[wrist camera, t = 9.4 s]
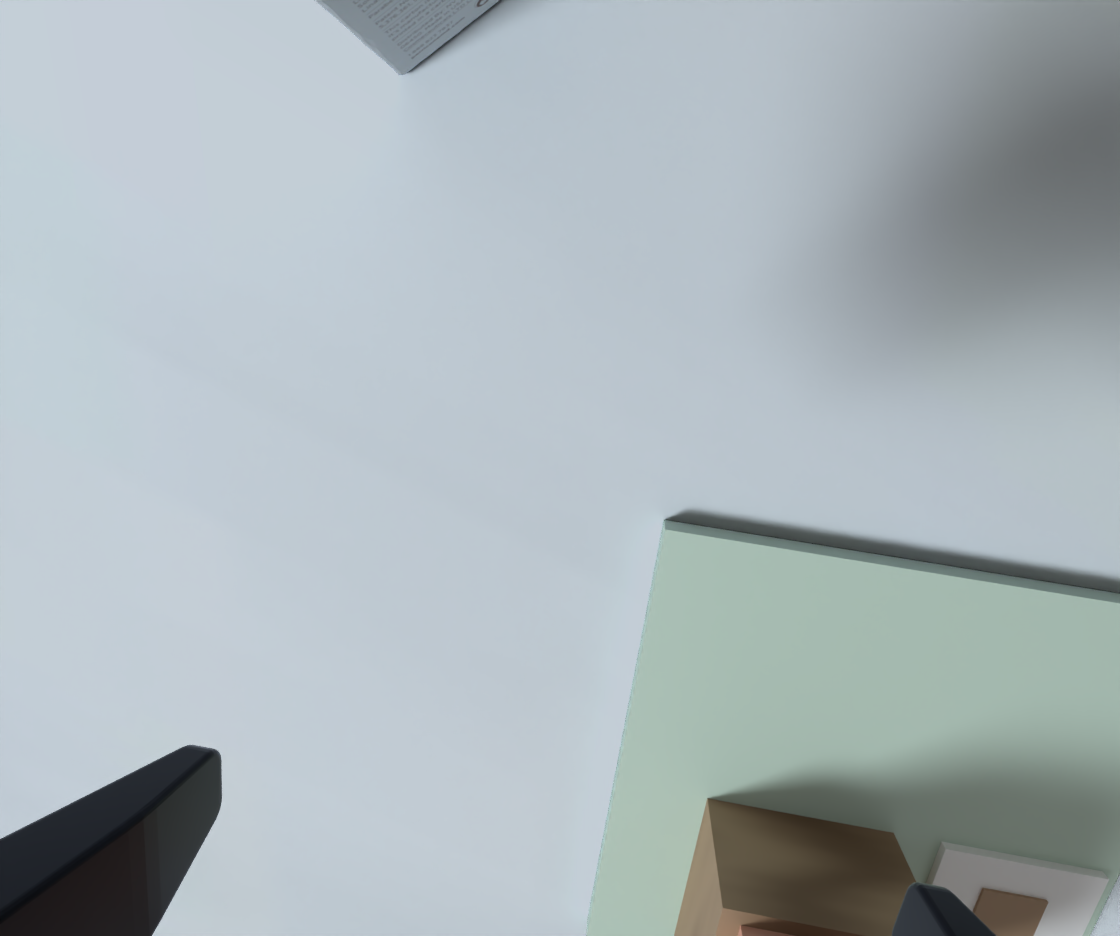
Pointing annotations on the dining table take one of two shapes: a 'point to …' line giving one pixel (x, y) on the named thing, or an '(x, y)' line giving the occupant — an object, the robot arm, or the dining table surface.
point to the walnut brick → (791, 876)
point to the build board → (871, 725)
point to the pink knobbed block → (758, 932)
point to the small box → (405, 25)
